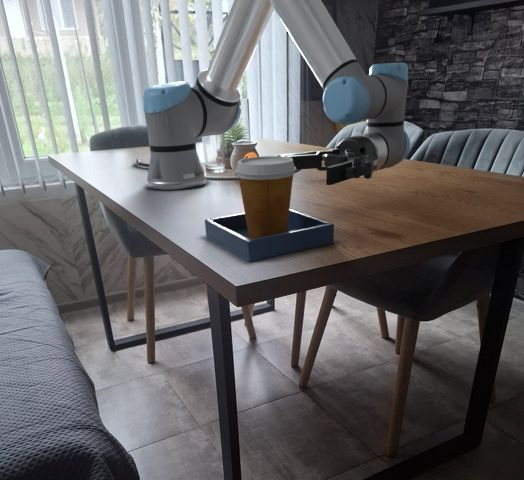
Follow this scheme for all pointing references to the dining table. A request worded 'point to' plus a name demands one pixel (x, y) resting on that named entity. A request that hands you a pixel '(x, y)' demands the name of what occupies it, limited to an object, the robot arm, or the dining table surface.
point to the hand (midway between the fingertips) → (294, 172)
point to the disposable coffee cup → (266, 193)
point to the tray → (295, 239)
